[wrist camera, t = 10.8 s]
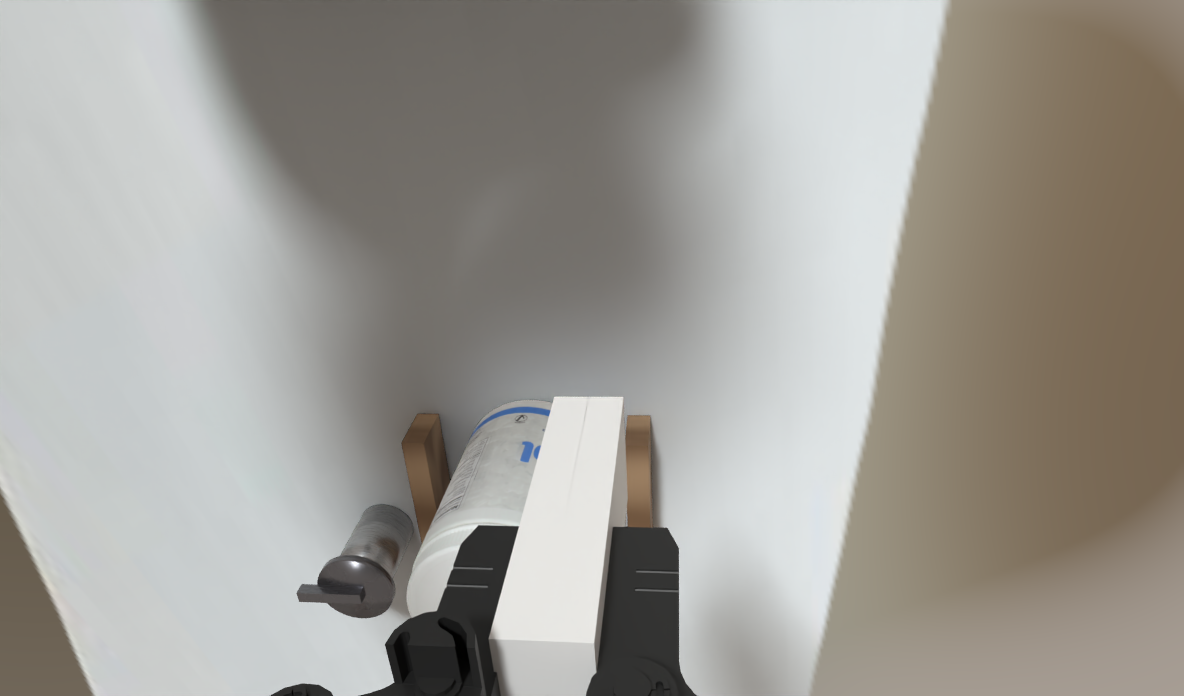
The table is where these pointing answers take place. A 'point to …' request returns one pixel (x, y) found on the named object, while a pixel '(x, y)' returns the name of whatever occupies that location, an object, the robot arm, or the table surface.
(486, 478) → the supplement tub
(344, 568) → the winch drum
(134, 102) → the table surface
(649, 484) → the bay
